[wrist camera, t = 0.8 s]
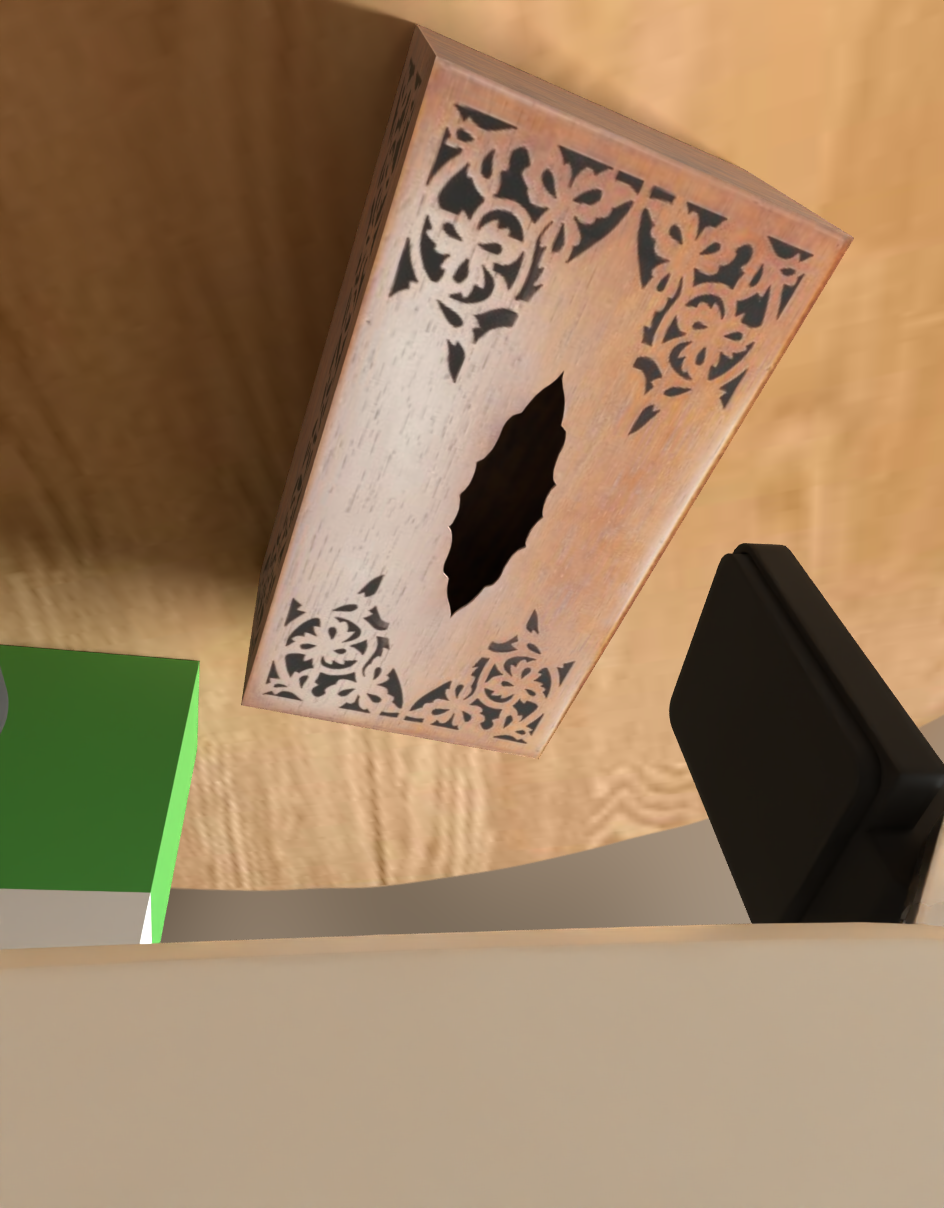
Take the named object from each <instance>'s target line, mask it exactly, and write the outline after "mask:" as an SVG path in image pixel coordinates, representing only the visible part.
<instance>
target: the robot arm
mask: <svg viewBox="0 0 944 1208" xmlns="http://www.w3.org/2000/svg"><path fill="white" fill-rule="evenodd" d="M8 705H9V703H8V693H7V689H6V685H5V681H4V678H3V674H2V671H1V667H0V734H1V732H2V729H3V727H4V725H5V722H6V719H7V714H8ZM669 716H670V723H671V726H672V729H673V731H674V734H675V736H676V739H677V741H678V743H679V746H680V748H681V751H682V753H683V756H684V758H685V761H686V763H687V766H688V768H689V770H690V773H691V775H692V778H693V780H694V783H695V785H696V788H697V790H698V793H699V795H700V797H701V800H702V802H703V805H704V807H705V810H706V812H707V815H708V817H709V820H710V822H711V824H712V827H713V829H714V832H715V834H716V836H717V839H718V842H719V844H720V847H721V849H722V851H723V854H724V856H725V859H726V861H727V864H728V866H729V869H730V871H731V874H732V876H733V878H734V881H735V883H736V886H737V888H738V891H739V893H740V896H741V898H742V901H743V903H744V905H745V908H746V910H747V913H748V915H749V918H750V920H751V923H752V924H716V925H681V926H648V927H615V928H614V927H613V928H578V929H544V930H516V931H515V930H513V931H485V932H484V931H483V932H453V933H424V934H394V935H367V936H337V937H311V938H310V937H309V938H281V939H253V940H229V941H228V940H227V941H203V942H177V943H152V944H126V945H101V946H76V947H51V948H26V949H1V950H0V1208H944V764H943V762H942V761H941V760H940V758H939V757H938V756H937V754H936V753H935V751H934V750H933V749H932V747H931V746H930V744H929V743H928V742H927V740H926V739H925V737H924V736H923V735H922V733H921V732H920V731H919V729H918V728H917V726H916V725H915V723H914V722H913V721H912V719H911V718H910V717H909V715H908V714H907V712H906V711H905V710H904V708H903V707H902V705H901V704H900V703H899V701H898V700H897V698H896V697H895V696H894V694H893V693H892V691H891V690H890V689H889V687H888V686H887V684H886V683H885V682H884V680H883V679H882V678H881V676H880V675H879V673H878V672H877V671H876V669H875V668H874V666H873V665H872V664H871V662H870V661H869V659H868V658H867V657H866V655H865V654H864V652H863V651H862V650H861V648H860V647H859V645H858V644H857V643H856V641H855V640H854V639H853V637H852V636H851V634H850V633H849V632H848V630H847V629H846V627H845V626H844V625H843V623H842V622H841V620H840V619H839V618H838V616H837V615H836V613H835V612H834V611H833V609H832V608H831V606H830V605H829V604H828V602H827V601H826V600H825V598H824V597H823V595H822V594H821V593H820V591H819V590H818V588H817V587H816V586H815V584H814V583H813V581H812V580H811V579H810V577H809V576H808V574H807V573H806V572H805V570H804V569H803V567H802V566H801V565H800V563H799V562H798V561H797V559H796V558H795V556H794V555H793V554H792V552H791V551H790V550H789V549H788V548H787V547H786V546H783V545H773V544H749V543H743V544H740V545H738V547H737V548H736V549H735V550H734V552H733V554H729V553H728V554H726V555H724V556H723V557H722V559H721V561H720V563H719V566H718V568H717V571H716V574H715V577H714V580H713V582H712V585H711V588H710V591H709V594H708V596H707V599H706V602H705V605H704V608H703V610H702V613H701V616H700V619H699V622H698V624H697V627H696V630H695V633H694V636H693V638H692V641H691V644H690V647H689V650H688V652H687V655H686V658H685V661H684V664H683V666H682V669H681V672H680V675H679V678H678V681H677V683H676V686H675V689H674V692H673V695H672V697H671V701H670V708H669Z"/></svg>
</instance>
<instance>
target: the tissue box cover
mask: <svg viewBox="0 0 944 1208" xmlns="http://www.w3.org/2000/svg"><path fill="white" fill-rule="evenodd" d="M853 239H854V238H853V237H852V236H850V235H849V234H847V233H845V232H844V231H842V230H841V229H839V228H837V227H836V226H834V225H833V224H831V223H829V222H828V221H826V220H825V219H823V218H821V217H820V216H818V215H817V214H815V213H813V212H812V211H810V210H809V209H807V208H805V207H804V206H802V205H801V204H799V203H797V202H796V201H794V200H793V199H791V198H789V197H788V196H786V195H785V194H783V193H781V192H780V191H778V190H777V189H775V188H773V187H772V186H770V185H769V184H767V183H765V182H764V181H762V180H761V179H759V178H757V177H756V176H754V175H753V174H751V173H749V172H748V171H746V170H744V169H742V168H740V167H737V166H735V165H733V164H731V163H728V162H726V161H724V160H722V159H719V158H717V157H715V156H713V155H710V154H708V153H706V152H704V151H701V150H699V149H697V148H695V147H692V146H690V145H688V144H686V143H683V142H681V141H679V140H677V139H674V138H672V137H670V136H668V135H665V134H663V133H661V132H659V131H656V130H654V129H652V128H650V127H647V126H645V125H643V124H641V123H638V122H636V121H634V120H632V119H629V118H627V117H625V116H623V115H620V114H618V113H616V112H614V111H611V110H609V109H607V108H605V107H602V106H600V105H598V104H596V103H593V102H591V101H589V100H587V99H584V98H582V97H580V96H578V95H575V94H573V93H571V92H569V91H566V90H564V89H562V88H560V87H557V86H555V85H553V84H551V83H548V82H546V81H544V80H542V79H539V78H537V77H535V76H533V75H530V74H528V73H526V72H524V71H521V70H519V69H517V68H515V67H512V66H510V65H508V64H506V63H503V62H501V61H499V60H497V59H494V58H492V57H490V56H488V55H486V54H483V53H481V52H479V51H477V50H474V49H472V48H470V47H468V46H465V45H463V44H461V43H459V42H456V41H454V40H452V39H450V38H447V37H445V36H443V35H441V34H438V33H436V32H434V31H432V30H429V29H427V28H425V27H423V26H420V25H418V24H416V25H415V28H414V32H413V35H412V39H411V43H410V46H409V50H408V53H407V57H406V60H405V64H404V67H403V71H402V74H401V78H400V81H399V85H398V88H397V92H396V95H395V99H394V103H393V106H392V110H391V113H390V117H389V120H388V124H387V127H386V131H385V134H384V138H383V141H382V145H381V148H380V152H379V155H378V159H377V163H376V166H375V170H374V173H373V177H372V180H371V184H370V187H369V191H368V194H367V198H366V201H365V205H364V208H363V212H362V215H361V219H360V223H359V226H358V230H357V233H356V237H355V240H354V244H353V247H352V251H351V254H350V258H349V261H348V265H347V268H346V272H345V275H344V279H343V283H342V286H341V290H340V293H339V297H338V300H337V304H336V307H335V311H334V314H333V318H332V321H331V325H330V328H329V332H328V335H327V339H326V343H325V346H324V350H323V353H322V357H321V360H320V364H319V367H318V371H317V374H316V378H315V381H314V385H313V388H312V392H311V395H310V399H309V403H308V406H307V410H306V413H305V417H304V420H303V424H302V427H301V431H300V434H299V438H298V441H297V445H296V448H295V452H294V455H293V459H292V463H291V466H290V470H289V473H288V477H287V480H286V484H285V487H284V491H283V494H282V498H281V501H280V505H279V508H278V512H277V515H276V519H275V522H274V526H273V530H272V533H271V537H270V540H269V544H268V547H267V551H266V554H265V558H264V561H263V565H262V568H261V572H260V579H259V586H258V593H257V600H256V607H255V613H254V620H253V627H252V634H251V641H250V648H249V655H248V661H247V668H246V675H245V682H244V689H243V696H242V703H241V705H244V706H249V707H255V708H260V709H266V710H271V711H277V712H282V713H288V714H293V715H299V716H304V717H310V718H315V719H321V720H326V721H332V722H337V723H343V724H348V725H354V726H359V727H365V728H370V729H376V730H381V731H387V732H392V733H398V734H403V735H409V736H414V737H420V738H425V739H431V740H436V741H442V742H447V743H453V744H458V745H464V746H469V747H475V748H480V749H486V750H491V751H497V752H502V753H508V754H513V755H519V756H524V757H530V758H535V759H539V757H540V756H541V754H542V752H543V751H544V749H545V747H546V746H547V744H548V743H549V741H550V739H551V738H552V736H553V734H554V733H555V731H556V729H557V728H558V726H559V724H560V723H561V721H562V719H563V718H564V716H565V714H566V713H567V711H568V710H569V708H570V706H571V705H572V703H573V701H574V700H575V698H576V696H577V695H578V693H579V691H580V690H581V688H582V686H583V685H584V683H585V681H586V680H587V678H588V677H589V675H590V673H591V672H592V670H593V668H594V667H595V665H596V663H597V662H598V660H599V658H600V657H601V655H602V653H603V652H604V650H605V648H606V647H607V645H608V643H609V642H610V640H611V639H612V637H613V635H614V634H615V632H616V630H617V629H618V627H619V625H620V624H621V622H622V620H623V619H624V617H625V615H626V614H627V612H628V610H629V609H630V607H631V606H632V604H633V602H634V601H635V599H636V597H637V596H638V594H639V592H640V591H641V589H642V587H643V586H644V584H645V582H646V581H647V579H648V577H649V576H650V574H651V572H652V571H653V569H654V568H655V566H656V564H657V563H658V561H659V559H660V558H661V556H662V554H663V553H664V551H665V549H666V548H667V546H668V544H669V543H670V541H671V539H672V538H673V536H674V535H675V533H676V531H677V530H678V528H679V526H680V525H681V523H682V521H683V520H684V518H685V516H686V515H687V513H688V511H689V510H690V508H691V506H692V505H693V503H694V502H695V500H696V498H697V497H698V495H699V493H700V492H701V490H702V488H703V487H704V485H705V483H706V482H707V480H708V478H709V477H710V475H711V473H712V472H713V470H714V468H715V467H716V465H717V464H718V462H719V460H720V459H721V457H722V455H723V454H724V452H725V450H726V449H727V447H728V445H729V444H730V442H731V440H732V439H733V437H734V435H735V434H736V432H737V431H738V429H739V427H740V426H741V424H742V422H743V421H744V419H745V417H746V416H747V414H748V412H749V411H750V409H751V407H752V406H753V404H754V402H755V401H756V399H757V398H758V396H759V394H760V393H761V391H762V389H763V388H764V386H765V384H766V383H767V381H768V379H769V378H770V376H771V374H772V373H773V371H774V369H775V368H776V366H777V364H778V363H779V361H780V360H781V358H782V356H783V355H784V353H785V351H786V350H787V348H788V346H789V345H790V343H791V341H792V340H793V338H794V336H795V335H796V333H797V331H798V330H799V328H800V327H801V325H802V323H803V322H804V320H805V318H806V317H807V315H808V313H809V312H810V310H811V308H812V307H813V305H814V303H815V302H816V300H817V298H818V297H819V295H820V293H821V292H822V290H823V289H824V287H825V285H826V284H827V282H828V280H829V279H830V277H831V275H832V274H833V272H834V270H835V269H836V267H837V265H838V264H839V262H840V260H841V259H842V257H843V256H844V254H845V252H846V251H847V249H848V247H849V246H850V244H851V242H852V241H853Z"/></svg>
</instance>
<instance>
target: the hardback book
mask: <svg viewBox="0 0 944 1208" xmlns="http://www.w3.org/2000/svg"><path fill="white" fill-rule="evenodd" d="M0 667H1V671H2V674H3V678H4V681H5V685H6V689H7V693H8V703H9V705H8V714H7V719H6V722H5V725H4V727H3V729H2V732H1V734H0V950H1V949H26V948H51V947H76V946H101V945H126V944H152V943H160V940H161V935H162V930H163V924H164V919H165V914H166V909H167V903H168V898H169V893H170V888H171V883H172V878H173V872H174V867H175V862H176V857H177V851H178V846H179V841H180V836H181V831H182V825H183V820H184V815H185V810H186V804H187V799H188V794H189V789H190V784H191V778H192V773H193V768H194V763H195V757H196V752H197V731H198V695H199V661H191V660H179V659H167V658H155V657H142V656H130V655H118V654H106V653H94V652H81V651H69V650H57V649H45V648H33V647H20V646H8V645H0Z"/></svg>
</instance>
